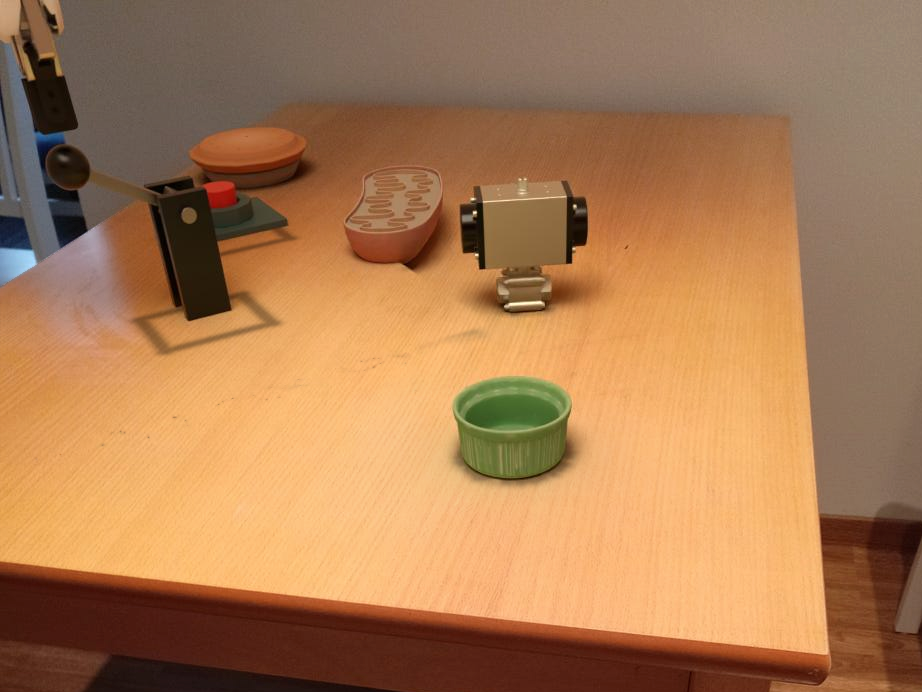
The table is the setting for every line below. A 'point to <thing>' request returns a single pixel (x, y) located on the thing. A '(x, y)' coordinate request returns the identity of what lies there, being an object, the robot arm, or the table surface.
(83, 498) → the table surface
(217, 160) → the pie
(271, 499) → the table surface
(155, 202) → the lever
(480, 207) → the pneumatic valve
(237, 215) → the button box
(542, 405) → the ramekin
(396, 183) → the anatomical model
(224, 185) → the button
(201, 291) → the bracket
